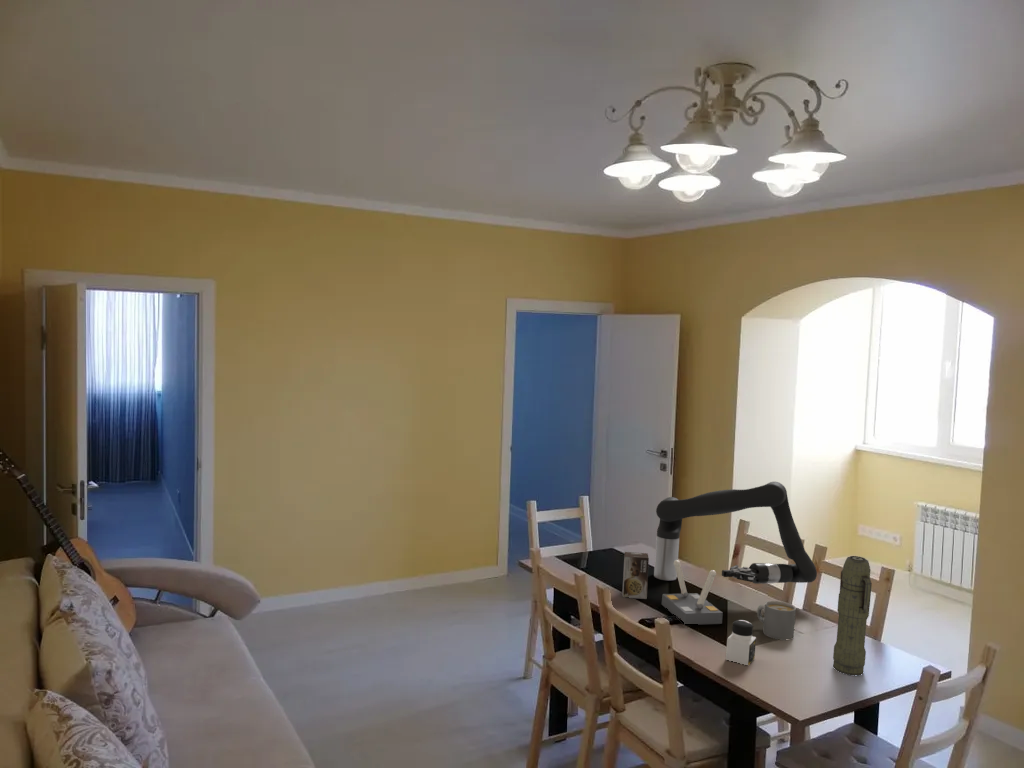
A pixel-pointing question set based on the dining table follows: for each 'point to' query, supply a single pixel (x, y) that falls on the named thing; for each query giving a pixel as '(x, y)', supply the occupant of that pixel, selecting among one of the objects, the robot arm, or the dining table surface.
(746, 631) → the medicine bottle
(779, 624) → the coffee mug
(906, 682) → the dining table surface
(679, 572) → the switch
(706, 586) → the switch
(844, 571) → the thermos
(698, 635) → the dining table surface
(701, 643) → the dining table surface
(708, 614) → the switch unit
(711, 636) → the dining table surface
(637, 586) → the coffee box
